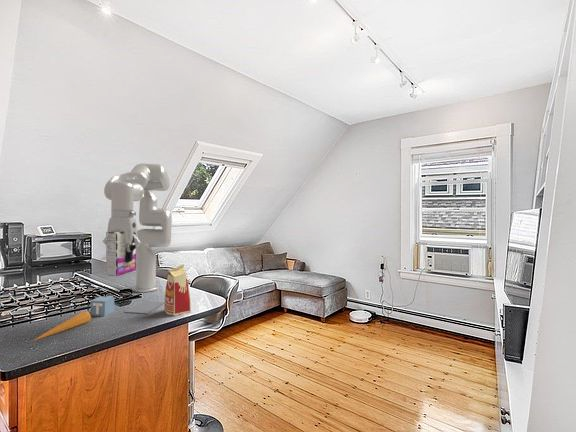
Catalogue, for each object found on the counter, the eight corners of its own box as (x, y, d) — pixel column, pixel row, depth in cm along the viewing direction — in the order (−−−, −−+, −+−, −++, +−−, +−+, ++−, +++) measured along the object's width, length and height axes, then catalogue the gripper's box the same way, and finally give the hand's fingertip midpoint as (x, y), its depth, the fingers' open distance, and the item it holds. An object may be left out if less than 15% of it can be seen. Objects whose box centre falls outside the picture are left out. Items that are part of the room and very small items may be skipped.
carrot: (86, 322, 123) (82, 311, 123) (94, 319, 121) (90, 308, 121) (30, 348, 104) (25, 335, 104) (39, 346, 103) (34, 333, 103)
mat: (143, 301, 148) (143, 300, 148) (164, 303, 147) (164, 302, 147) (124, 312, 133) (124, 311, 133) (147, 314, 132) (147, 313, 132)
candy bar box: (125, 269, 131) (126, 229, 130) (136, 270, 130) (137, 229, 129) (104, 275, 120) (105, 231, 119) (116, 276, 119) (117, 232, 118)
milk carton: (181, 306, 143) (183, 262, 142) (191, 312, 136) (193, 265, 136) (161, 310, 136) (162, 264, 136) (171, 316, 130) (172, 267, 129)
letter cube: (100, 310, 134) (100, 296, 134) (114, 311, 134) (114, 297, 134) (90, 315, 128) (90, 300, 128) (104, 316, 128) (104, 301, 127)
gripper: (148, 215, 127) (147, 260, 128) (107, 213, 128) (107, 258, 129) (138, 216, 119) (137, 264, 120) (94, 213, 121) (94, 261, 122)
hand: (121, 260), depth 125 cm, fingers closed on candy bar box, 5 cm apart
